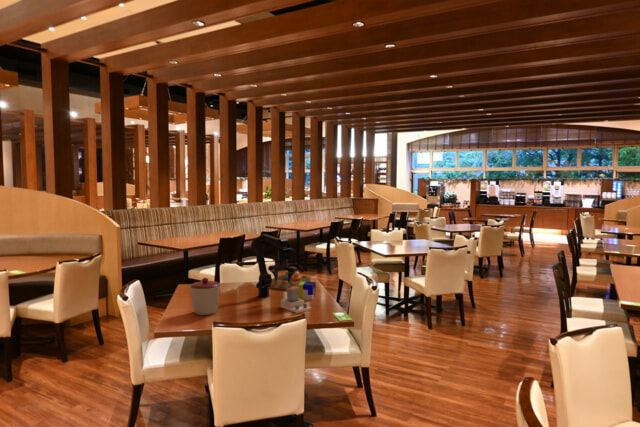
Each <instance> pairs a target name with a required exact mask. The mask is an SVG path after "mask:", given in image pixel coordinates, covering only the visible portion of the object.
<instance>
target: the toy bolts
mask: <svg viewBox="0 0 640 427" xmlns="http://www.w3.org/2000/svg"><path fill="white" fill-rule="evenodd" d="M283 274H284V276H283V278H284V279H285V281H288V271H286V270H284V273H283ZM299 275H300V272H299V271H298V270H297V272H295V273H294V274H293V276H292V278H291V280H293V281H295V282H297V281H299V280H301V279H302V278H301V276H302V275H301V276H299ZM291 280H290V282H292V281H291Z"/></svg>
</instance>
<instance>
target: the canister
mask: <svg viewBox="0 0 640 427" xmlns="http://www.w3.org/2000/svg"><path fill="white" fill-rule="evenodd" d="M221 286H222V284H221V283H219V282H218V281H213V280H209V278H207V277H203V278H202V280H201V281H196V282H193V283H192V284H190V285H189V287H188V288H189V289H190V295H191V302H192V309H193V313H194V314H196V315H198V316H210V315H214V314H215V313H216V312H217V311H218V305H219V300H220V299H219V298H220V288H221Z"/></svg>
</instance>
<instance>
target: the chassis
mask: <svg viewBox="0 0 640 427" xmlns="http://www.w3.org/2000/svg"><path fill="white" fill-rule="evenodd" d="M280 308H283V309H286V310H288V311H290V312H293V313H296V314H297V313H302V312H307V311H311V310H312V307H311V306H308V303H305V300H304V299H298V301H296V302H288V301H287V298H282V299H281V300H280Z"/></svg>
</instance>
